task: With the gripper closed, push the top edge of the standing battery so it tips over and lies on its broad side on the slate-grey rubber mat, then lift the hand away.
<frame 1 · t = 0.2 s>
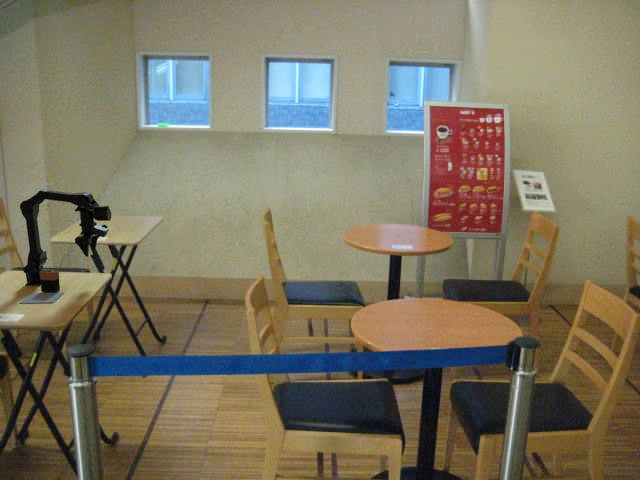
hand: (90, 253, 267), 14 cm above the table, tool pointing down, fingers open, 9 cm apart
battery: (50, 291, 259), on the table, touching mat
mat: (42, 298, 250), on the table
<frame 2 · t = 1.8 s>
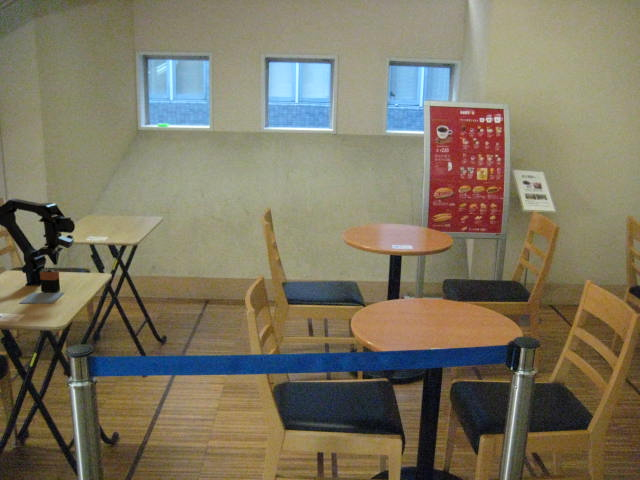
hand: (55, 264, 264), 10 cm above the table, tool pointing down, fingers closed
nothing on the table moved.
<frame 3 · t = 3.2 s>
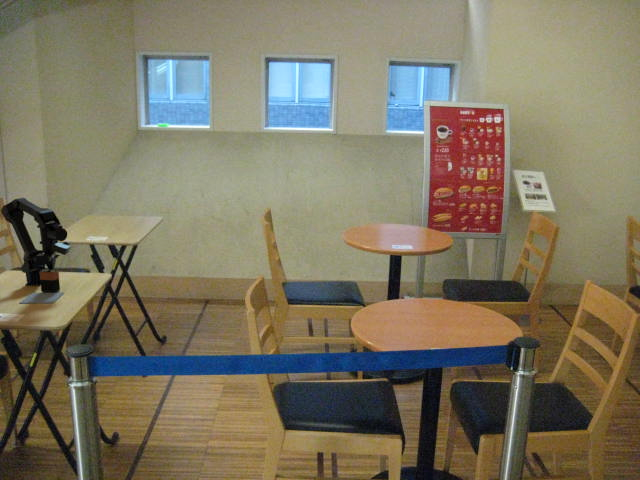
hand: (52, 271, 261), 8 cm above the table, tool pointing down, fingers closed
battery: (50, 291, 259), on the table, touching gripper, mat
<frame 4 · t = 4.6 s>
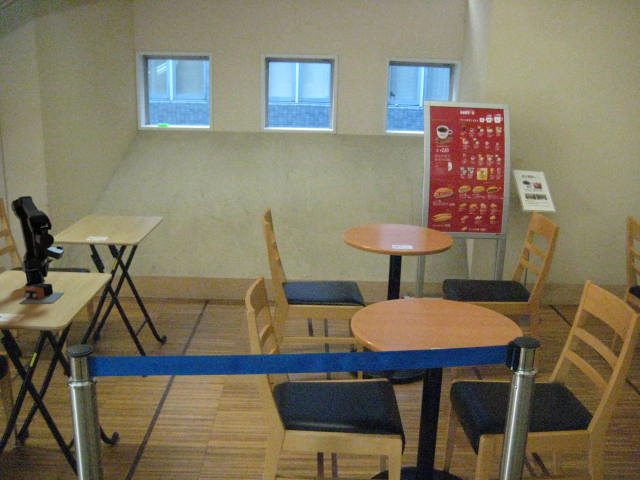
hand: (45, 276, 253), 8 cm above the table, tool pointing down, fingers closed
battery: (46, 287, 256), point 3 cm above the table, touching mat
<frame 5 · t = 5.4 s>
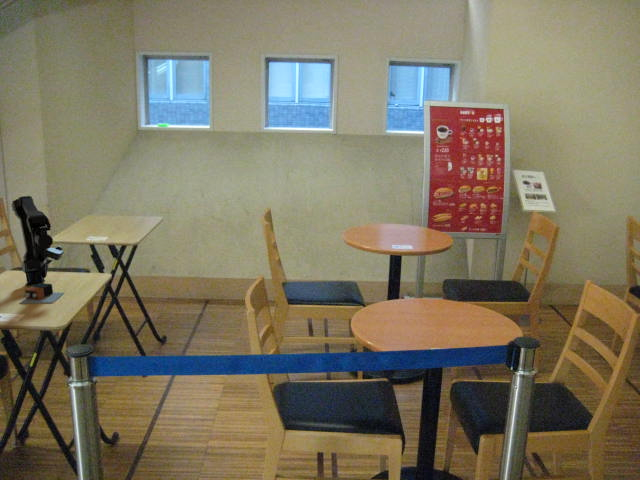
hand: (44, 277, 253), 8 cm above the table, tool pointing down, fingers closed
nothing on the table moved.
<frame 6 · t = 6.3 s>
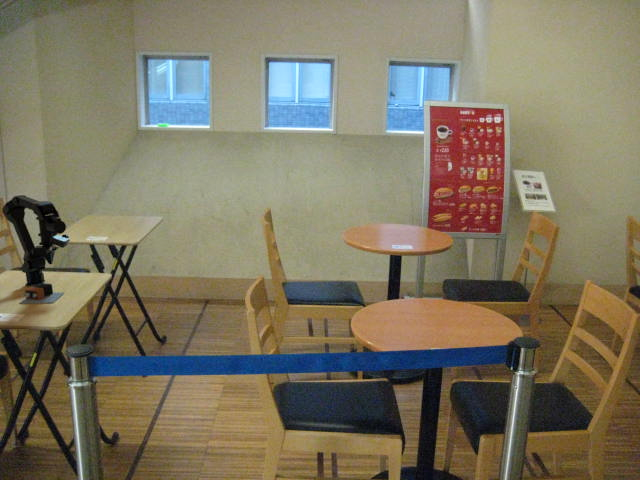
hand: (50, 264, 259), 12 cm above the table, tool pointing down, fingers closed
nothing on the table moved.
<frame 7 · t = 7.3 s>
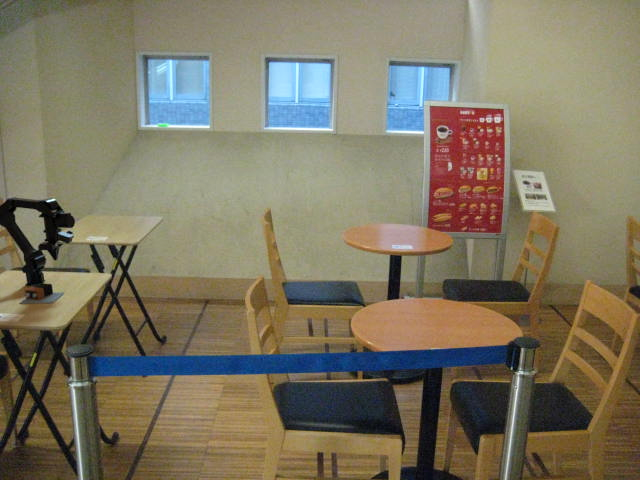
hand: (55, 260, 264), 12 cm above the table, tool pointing down, fingers closed
nothing on the table moved.
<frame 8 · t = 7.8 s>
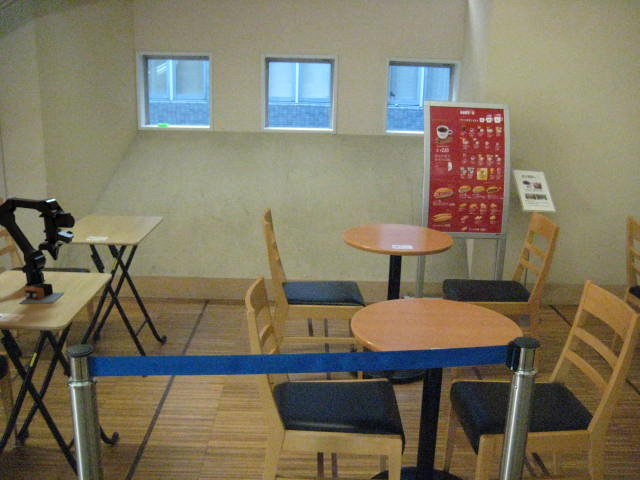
hand: (55, 260, 264), 12 cm above the table, tool pointing down, fingers closed
nothing on the table moved.
at the end: battery tilted 90°; battery inside the target area (4.0 cm from its centre), point 2.6 cm above the table; battery touching mat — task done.
